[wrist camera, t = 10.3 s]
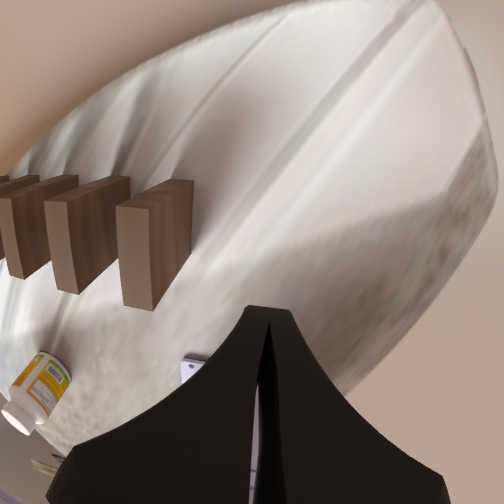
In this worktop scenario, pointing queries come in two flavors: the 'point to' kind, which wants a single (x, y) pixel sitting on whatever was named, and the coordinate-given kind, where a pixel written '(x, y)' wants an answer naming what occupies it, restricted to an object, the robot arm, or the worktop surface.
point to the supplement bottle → (36, 392)
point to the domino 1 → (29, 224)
